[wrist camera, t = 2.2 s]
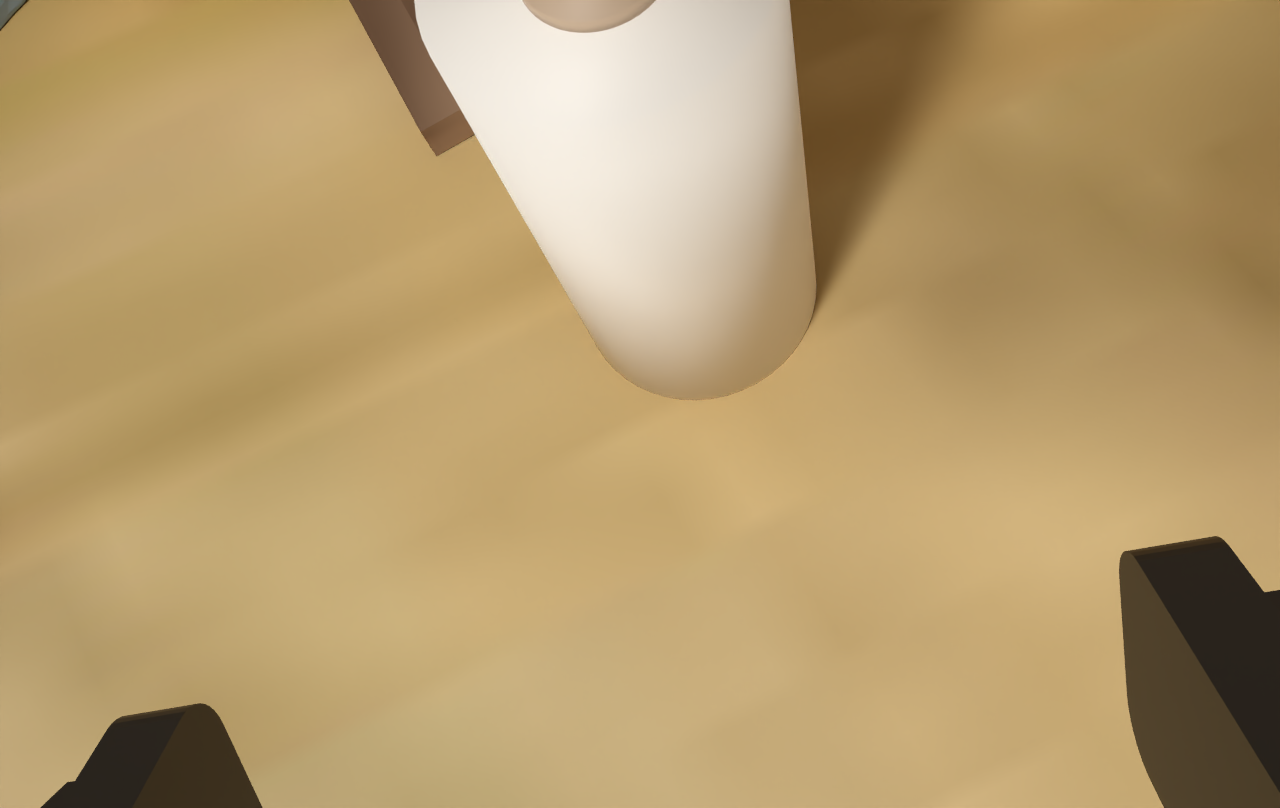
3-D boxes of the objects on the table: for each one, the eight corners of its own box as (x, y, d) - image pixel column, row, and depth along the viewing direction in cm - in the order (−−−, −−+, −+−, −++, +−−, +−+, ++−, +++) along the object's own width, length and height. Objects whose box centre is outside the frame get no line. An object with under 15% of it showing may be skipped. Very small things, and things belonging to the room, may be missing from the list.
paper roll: (651, 443, 28) (503, 188, 17) (546, 257, 30) (350, -84, 19) (861, 323, 28) (857, -13, 17) (742, 146, 30) (667, -262, 19)
